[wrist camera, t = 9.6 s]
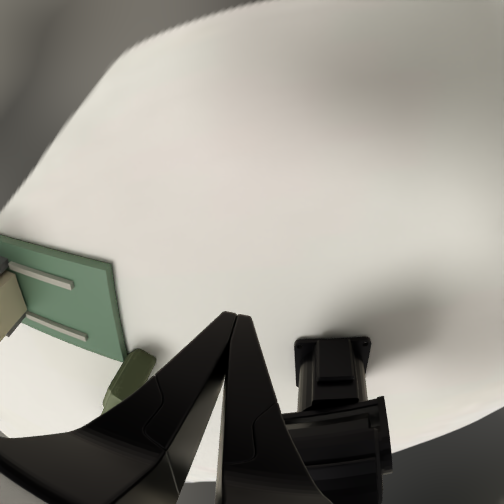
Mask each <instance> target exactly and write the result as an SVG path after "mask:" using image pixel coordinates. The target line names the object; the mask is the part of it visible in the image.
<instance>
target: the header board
mask: <svg viewBox="0 0 504 504" xmlns="http://www.w3.org/2000/svg"><path fill="white" fill-rule="evenodd" d="M5 270H6V271H9V272H11V273H14V274H15V275H16V278H17V281H18V284H19V288H20V290H21V293H22V296H23V299H24V302H25V305H26V307H27V311H26V312H25V313H24V314H23V315H22V316H21V318H20V319H19V320H18V321H17V322H16V323H15V325H14V326H13V327H12V328H11V329H10V331H9V332H8V333H7V334H6V336H8V337H9V336H10V335H11V334H12V333H13V331H14V330H15V329H16V328H17V326H18V325H19V324H20V323H24V324H26V325H28V326H30V327H32V328H35V329H37V330H39V331H41V332H44V333H46V334H48V335H51V336H53V337H55V338H58V339H60V340H63V341H65V342H68V343H70V344H73V345H75V346H78V347H81V348H83V349H86V350H88V351H91V352H94V353H97V354H100V355H102V356H105V357H108V358H111V359H114V360H117V361H120V362H124V360H125V359H126V357H127V352H126V347H125V342H124V338H123V333H122V328H121V322H120V317H119V311H118V306H117V300H116V294H115V287H114V280H113V273H112V266H111V264H109V263H105V262H101V261H96V260H92V259H88V258H84V257H81V256H77V255H73V254H69V253H65V252H61V251H57V250H54V249H50V248H46V247H42V246H39V245H35V244H31V243H28V242H24V241H20V240H17V239H13V238H10V237H6V236H3V235H0V274H1V273H2V272H4V271H5Z"/></svg>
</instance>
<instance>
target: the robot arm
mask: <svg viewBox="0 0 504 504" xmlns="http://www.w3.org/2000/svg"><path fill="white" fill-rule="evenodd" d="M364 342H366V343H364ZM300 345H301V346H300ZM370 348H371V340H370V338H369V337H353V338H331V339H299V340H296V341H295V344H294V351H295V371H296V386H297V387H299V392H298V408H297V412H293V413H284V414H281V410H280V407H279V404H278V403H277V398H276V395H275V392H274V389H273V386H272V382H271V379H270V376H269V373H268V370H267V366H266V363H265V360H264V357H263V353H262V350H261V347H260V344H259V340H258V337H257V334H256V331H255V327H254V324H253V321H252V318H251V317H250V316H247V315H242V314H238V315H237V314H236V313H232V312H227V311H224V312H222V313H221V314H220V315H219V316H218V317H217V318H216V319H215V320H214V321H213V322H212V323H210V324H209V325H208V326H207V327H206V328H205V329H204V330H203V331H202V332H201V333H200V334H199V335H198V336H196V337H195V338H194V339H193V340H192V341H191V342H190V343H189V344H188V345H187V346H186V347H184V348H183V349H182V350H181V351H180V352H179V353H178V354H177V355H176V356H175V357H174V358H172V359H171V360H170V361H169V362H168V363H167V364H166V365H165V366H164V367H163V368H161V369H160V370H159V371H158V372H157V373H156V374H155V376H152V377H151V378H150V379H149V380H148V381H147V382H146V383H145V384H143V385H142V386H141V387H140V388H139V389H137V390H136V391H135V392H134V393H133V394H131V395H130V396H128V397H127V398H126V399H124V400H123V401H121V402H120V403H119V404H117V405H116V406H114V407H113V408H111V409H110V410H108V411H106V412H105V413H103V414H102V415H100V416H99V417H97V418H96V419H94V420H93V421H91V422H90V423H88V424H86V425H85V426H83V427H81V428H79V429H76V430H74V431H70V432H65V433H59V434H51V435H43V436H33V437H23V438H5V437H0V504H176V502H177V500H178V497H179V495H180V492H181V490H182V487H183V485H184V482H185V480H186V477H187V475H188V472H189V470H190V467H191V465H192V462H193V460H194V457H195V455H196V452H197V450H198V447H199V445H200V442H201V439H202V437H203V434H204V432H205V429H206V427H207V424H208V421H209V419H210V416H211V414H212V411H213V408H214V406H215V403H216V401H217V398H218V395H219V393H220V390H221V388H222V385H223V382H224V390H223V402H222V414H221V426H220V439H219V452H218V465H217V479H216V493H215V504H381V503H382V495H383V480H382V475H384V474H389V473H392V456H391V445H390V436H389V428H388V420H387V413H386V406H385V400H384V396H381V397H377V399H372V400H368V397H367V388H366V380H365V373H366V368H367V363H368V358H369V353H370ZM224 378H225V381H224Z"/></svg>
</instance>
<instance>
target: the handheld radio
mask: <svg viewBox="0 0 504 504" xmlns="http://www.w3.org/2000/svg"><path fill="white" fill-rule="evenodd" d="M155 363H156V359H155V357H154V356H152V355H150V354H149V353H147V352H145V351H143V350H141V349H137V350H135V351H134V352H131V353H129V354H128V355H127V357H126V359H125V360H124V362H123V364H122V365H121V367H120V369H119V370H118V372H117V374H116V375H115V377H114V379H113V380H112V382H111V384H110V386H109V387H108V390H107V392H106V395H105V397H104V400H103V406H104V409H103V412H102V414H103V413H105V412H106V411H108V410H110V409H111V408H113V407H114V406H116V405H117V404H119V403H120V402H121V401H123V400H124V399H126V398H127V397H128V396H130V395H131V394H133V393H134V392H135V391H136V390H137V389H139V388H140V387H141V386H142V385H143V384H145V383H146V381H147V379H148V377H149V375H150V373H151V371H152V369H153V367H154V365H155ZM102 414H101V415H102Z"/></svg>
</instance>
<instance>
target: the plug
mask: <svg viewBox="0 0 504 504" xmlns="http://www.w3.org/2000/svg"><path fill="white" fill-rule="evenodd" d="M26 311H27V307H26V305H25V302H24V299H23V296H22V293H21V290H20V288H19V284H18V281H17V278H16V275H15V274H14V273H11V272H9V271H6V270H5V271H4V272H2V273H1V274H0V341H1V340H2V339H3V338H4V337H5V335H6V334H7V333H8V332H9V331H10V329H11V328H12V327H13V326H14V325H15V323H16V322H17V321H18V320H19V319H20V318H21V316H22V315H23V314H24V313H25V312H26Z"/></svg>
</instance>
